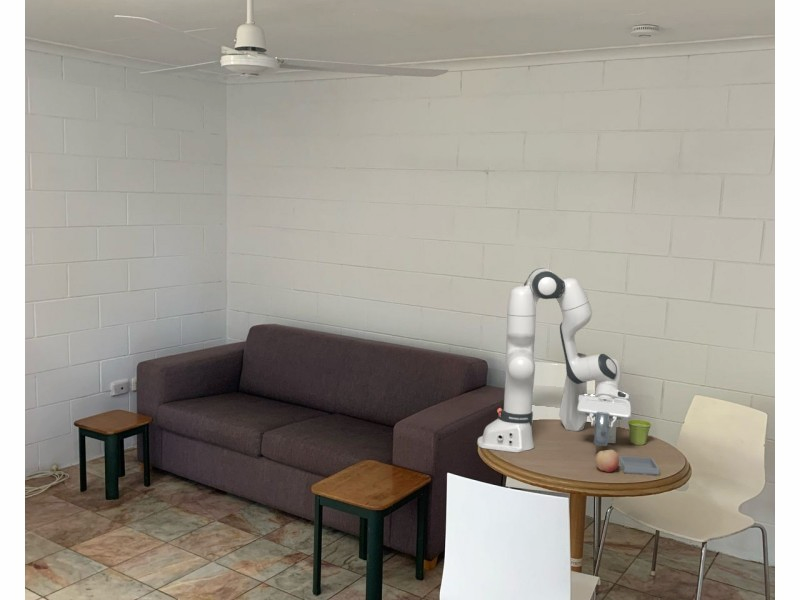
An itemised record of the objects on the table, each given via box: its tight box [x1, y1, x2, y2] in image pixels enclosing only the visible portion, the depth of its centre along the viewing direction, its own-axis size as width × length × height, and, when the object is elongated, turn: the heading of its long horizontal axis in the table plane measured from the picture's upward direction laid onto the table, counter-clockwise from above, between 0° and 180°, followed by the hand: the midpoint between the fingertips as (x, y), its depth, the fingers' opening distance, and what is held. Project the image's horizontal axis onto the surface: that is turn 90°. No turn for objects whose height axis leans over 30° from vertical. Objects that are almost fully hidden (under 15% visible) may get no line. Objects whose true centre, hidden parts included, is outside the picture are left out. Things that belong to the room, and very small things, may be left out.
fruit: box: [595, 449, 620, 473], centre depth 274 cm, size 8×8×8 cm
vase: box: [558, 352, 588, 432], centre depth 326 cm, size 12×12×33 cm
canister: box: [593, 412, 610, 447], centre depth 289 cm, size 5×5×12 cm
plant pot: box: [627, 419, 652, 446], centre depth 309 cm, size 9×9×9 cm
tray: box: [618, 455, 660, 476], centre depth 278 cm, size 12×12×2 cm
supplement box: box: [607, 419, 618, 444], centre depth 312 cm, size 7×7×13 cm
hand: (601, 426), depth 288 cm, fingers closed on canister, 5 cm apart
